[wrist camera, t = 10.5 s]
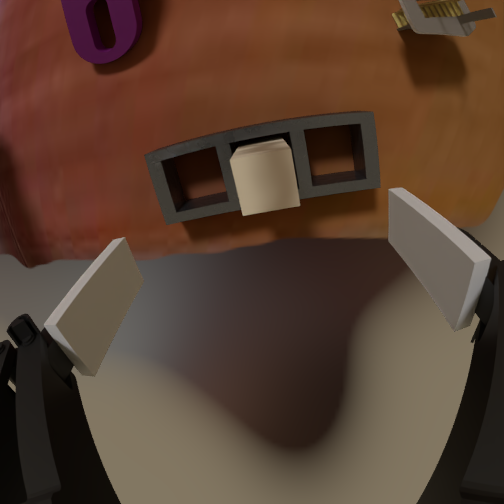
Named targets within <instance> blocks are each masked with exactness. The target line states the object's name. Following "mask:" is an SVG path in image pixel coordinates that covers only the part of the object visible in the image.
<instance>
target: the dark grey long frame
mask: <svg viewBox="0 0 504 504" xmlns="http://www.w3.org/2000/svg"><path fill="white" fill-rule="evenodd" d="M348 124H349V128H350V135H351V142H352V150H353V159H354V169H355V170H354V171H346V172H339V173H331V174H324V175H317V176H311V173H310V166H309V160H308V153H307V147H306V141H305V136H304V129H312V128H320V127H328V126H338V125H348ZM284 132H287V138H288V143H289V147H290V148H291V152H292V158H293V164H294V170H295V176H296V182H297V188H298V194H299V199H305V198H311V197H318V196H324V195H331V194H338V193H344V192H351V191H359V190H366V189H374V188H381V187H380V170H379V157H378V146H377V137H376V128H375V120H374V113H373V112H369V111H351V112H339V113H329V114H319V115H311V116H303V117H296V118H289V119H283V120H276V121H271V122H265V123H259V124H254V125H249V126H244V127H239V128H235V129H230V130H226V131H221V132H217V133H213V134H209V135H205V136H201V137H197V138H194V139H190V140H186V141H183V142H179V143H176V144H172V145H169V146H166V147H162V148H159V149H157V150H154V151H152V152H150V153H148V154H145V155H144V156H145V159H146V162H147V166H148V169H149V173H150V176H151V179H152V182H153V186H154V189H155V192H156V195H157V198H158V201H159V204H160V207H161V210H162V213H163V216H164V219H165V222H166V225H169V224H173V223H178V222H183V221H187V220H192V219H197V218H202V217H206V216H211V215H216V214H221V213H226V212H232V211H237V210H241V206H240V202H239V197H238V193H237V189H236V185H235V181H234V176H233V172H232V168H231V164H230V159H231V157H232V156H233V154H234V153H235V151H236V149H235V145H234V142H236V141H241V140H246V139H251V138H256V137H261V136H267V135H272V134H278V133H284ZM214 146H216V150H217V154H218V158H219V163H220V167H221V171H222V175H223V179H224V183H225V187H226V191H227V192H222V193H217V194H213V195H208V196H203V197H199V198H195V199H190V200H185V197H184V193H183V190H182V187H181V183H180V180H179V176H178V173H177V169H176V166H175V162H174V159H173V157H176V156H179V155H183V154H187V153H190V152H194V151H198V150H202V149H206V148H210V147H214Z"/></svg>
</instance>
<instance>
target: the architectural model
mask: <svg viewBox="0 0 504 504" xmlns="http://www.w3.org/2000/svg"><path fill="white" fill-rule="evenodd" d="M416 1H419V0H399V2H400V4H401V7H402V9H400V10H399V11H397V12H395V13H394V14H392V16H393V18H394V20H395V22H396V23H397V25H398V27H399V28H397V30H398V31H400V30H406V29H412V30H413V31H414V32H416V33H418V34H439V35H452V36H469V35H470V34H471V33H472V31H473V30H474V29H475V28H476V25H475V22H474V21H478V20H483V19H488V18H494V17H497V16H496V14H495V12H494V10H493V8H488V9H483V10H479V11H475V12H471V13H470V11H469V9H468V7H467V5H466V3H465V1H464V0H438V1H432V2H427V3H422V4H417V2H416Z"/></svg>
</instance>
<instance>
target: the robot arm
mask: <svg viewBox="0 0 504 504" xmlns="http://www.w3.org/2000/svg"><path fill="white" fill-rule="evenodd" d="M388 190H389V237H388V241H389V242H390V244H391V245H392V246H393V247H394V248H395V250H396V251H397V252H398V253H399V255H400V256H401V257H402V259H403V260H404V261H405V262H406V264H407V265H408V266H409V267H410V269H411V270H412V271H413V273H414V274H415V275H416V277H417V278H418V279H419V281H420V282H421V284H422V285H423V286H424V288H425V289H426V291H427V292H428V293H429V295H430V296H431V298H432V299H433V301H434V302H435V303H436V305H437V306H438V308H439V309H440V311H441V312H442V314H443V315H444V317H445V318H446V320H447V321H448V323H449V324H450V326H451V328H452V329H453V331H454V332H455V331H458V330H460V329H463V328H465V327H468V326H470V324H471V322H472V319H473V316H474V314H475V313H476V314H477V316H478V317H479V318H480V321H479V324H478V326H477V328H476V331H475V333H474V335H473V337H472V340H471V342H472V343H473V342H474V340H475V344H474V349H473V355H472V360H471V364H470V369H469V373H468V378H467V382H466V386H465V390H464V393H463V397H462V400H461V404H460V407H459V410H458V413H457V416H456V419H455V422H454V425H453V428H452V430H451V433H450V436H449V438H448V441H447V443H446V446H445V448H444V450H443V453H442V455H441V458H440V460H439V462H438V464H437V466H436V468H435V471H434V472H433V474H432V477H431V479H430V480H429V482H428V484H427V486H426V488H425V490H424V492H423V493H422V495H421V497H420V499H419V500H418V502H417V504H504V260H502V261H500V260H499V259H498V258H497V257H496V256H494V255H493V254H492V253H491V252H490V251H489V250H488V249H487V248H486V247H484V246H483V245H481V243H480V242H479V241H477V240H475V238H474V237H473V236H472V235H470V234H469V233H468V232H466V231H464V230H462V229H460V228H458V227H455V226H454V225H453V224H451V223H450V222H449V221H448V220H446V219H445V218H444V217H442V216H441V215H440V214H439V213H437V212H436V211H435V210H433V209H432V208H430V207H429V206H428V205H426V204H425V203H424V202H422V201H421V200H419V199H418V198H417V197H415V196H414V195H412V194H411V193H409V192H408V191H406V190H405V189H404V188H394V189H388ZM143 282H144V280H143V278H142V276H141V274H140V271H139V269H138V267H137V265H136V262H135V260H134V258H133V255H132V253H131V251H130V248H129V246H128V244H127V241H126V239H125V237H123V238H119V239H115V240H113V241H112V242H111V243H110V244H109V245H108V246H107V247H106V249H105V250H104V251H103V252H102V253H101V254H100V255H99V256H98V257H97V259H96V260H95V261H94V262H93V263H92V264H91V265H90V267H89V268H88V269H87V270H86V271H85V273H84V274H83V275H82V276H81V277H80V279H79V280H78V281H77V282H76V283H75V285H74V286H73V287H72V288H71V289H70V291H69V292H68V293H67V295H66V296H65V297H64V298H63V300H62V301H61V302H60V304H59V305H58V306H57V308H56V309H55V310H54V311H53V313H52V314H51V315H50V317H49V318H48V319H47V321H46V322H45V324H44V329H43V330H42V331H41V332H40V331H39V329H38V328H37V326H36V325H35V324H34V322H33V320H32V319H31V317H30V316H29V315H28V314H23V315H21V316H19V317H17V318H16V319H15V320H14V321H13V322H12V323H11V324H10V325H9V327H8V329H7V333H8V334H9V336H10V337H11V338H12V340H13V341H14V342H15V344H16V345H17V346H18V348H14V347H13V345H12V344H11V342H10V341H9V340H5V341H3V342H0V504H121V503H120V501H119V499H118V497H117V495H116V493H115V491H114V489H113V487H112V484H111V482H110V480H109V478H108V476H107V473H106V471H105V469H104V467H103V464H102V462H101V459H100V456H99V454H98V451H97V449H96V446H95V443H94V440H93V438H92V434H91V431H90V428H89V425H88V422H87V419H86V415H85V412H84V409H83V405H82V401H81V397H80V393H79V389H78V386H77V381H76V377H75V376H74V374H73V373H72V372H71V370H72V368H73V366H75V367H76V369H77V370H78V371H79V372H80V373H81V374H82V375H85V376H95V375H96V373H97V371H98V369H99V367H100V365H101V362H102V360H103V358H104V356H105V354H106V352H107V350H108V348H109V346H110V344H111V342H112V340H113V338H114V336H115V334H116V332H117V330H118V328H119V326H120V324H121V322H122V320H123V319H124V317H125V315H126V313H127V311H128V309H129V307H130V306H131V303H132V302H133V300H134V298H135V296H136V295H137V293H138V291H139V289H140V287H141V285H142V284H143ZM9 380H10V381H11V382H12V383H13V384H14V385H15V386H16V393H15V392H14V391H13V390H12V389H11V387H10V386H9V385H8V381H9Z"/></svg>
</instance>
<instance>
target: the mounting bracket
mask: <svg viewBox="0 0 504 504" xmlns="http://www.w3.org/2000/svg"><path fill="white" fill-rule="evenodd" d="M96 1H97V0H61V2H62V6H63V10H64V14H65V18H66V22H67V25H68V29H69V33H70V36H71V39H72V43H73V46H74V48H75V50H76V52H77V53H78V54H79V56H80V57H82V58H83V59H84V60H86V61H88V62H91V63H97V64H103V63H108V62H111V61H114V60H116V59H117V58H119V57H121V56H122V55H124V54H125V53H127V52H128V51H129V50H130V49H131V48H132V47H133V46H134V45H135V44H136V42H137V41H138V39H139V37H140V34H141V31H142V16H141V12H140V7H139V2H138V0H106V1H107V4H108V8H109V13H110V17H111V21H112V25H113V29H114V33H115V36H116V44H115V46H114V47H113V48H106V47H105V46H104V45H103V44H102V41H101V38H100V34H99V31H98V27H97V23H96V19H95V15H94V11H93V7H94V4H95V2H96Z"/></svg>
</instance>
